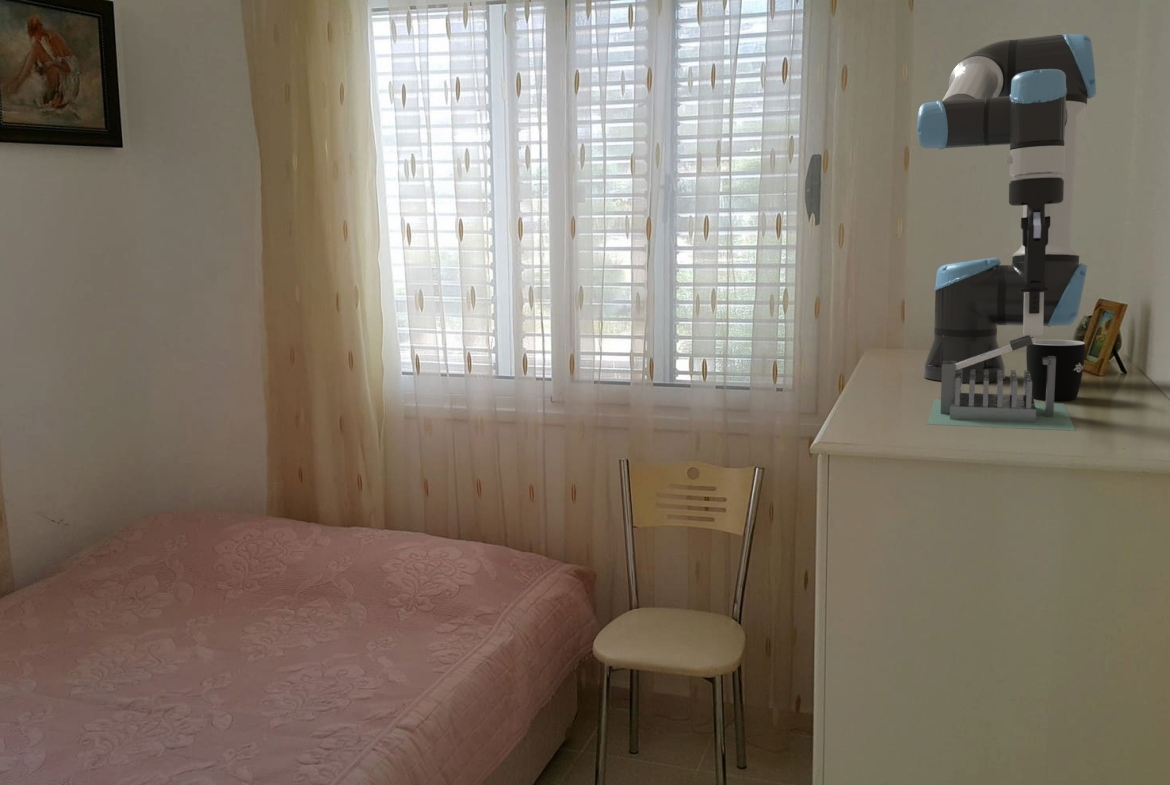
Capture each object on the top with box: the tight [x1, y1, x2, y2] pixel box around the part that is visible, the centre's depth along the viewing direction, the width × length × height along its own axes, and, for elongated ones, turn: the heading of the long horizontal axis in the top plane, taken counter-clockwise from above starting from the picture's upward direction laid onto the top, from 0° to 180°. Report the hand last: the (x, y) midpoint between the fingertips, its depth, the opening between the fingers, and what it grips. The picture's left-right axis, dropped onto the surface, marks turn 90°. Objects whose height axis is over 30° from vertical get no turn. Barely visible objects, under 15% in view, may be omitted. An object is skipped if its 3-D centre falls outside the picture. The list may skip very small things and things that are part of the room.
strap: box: [955, 335, 1037, 370], centre depth 158 cm, size 5×14×1 cm, turn 69°
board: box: [927, 398, 1076, 432], centre depth 159 cm, size 24×20×1 cm
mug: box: [1025, 339, 1086, 403], centre depth 172 cm, size 12×9×10 cm
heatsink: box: [940, 356, 1056, 423], centre depth 158 cm, size 14×16×9 cm
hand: (1033, 334), depth 155 cm, fingers closed
